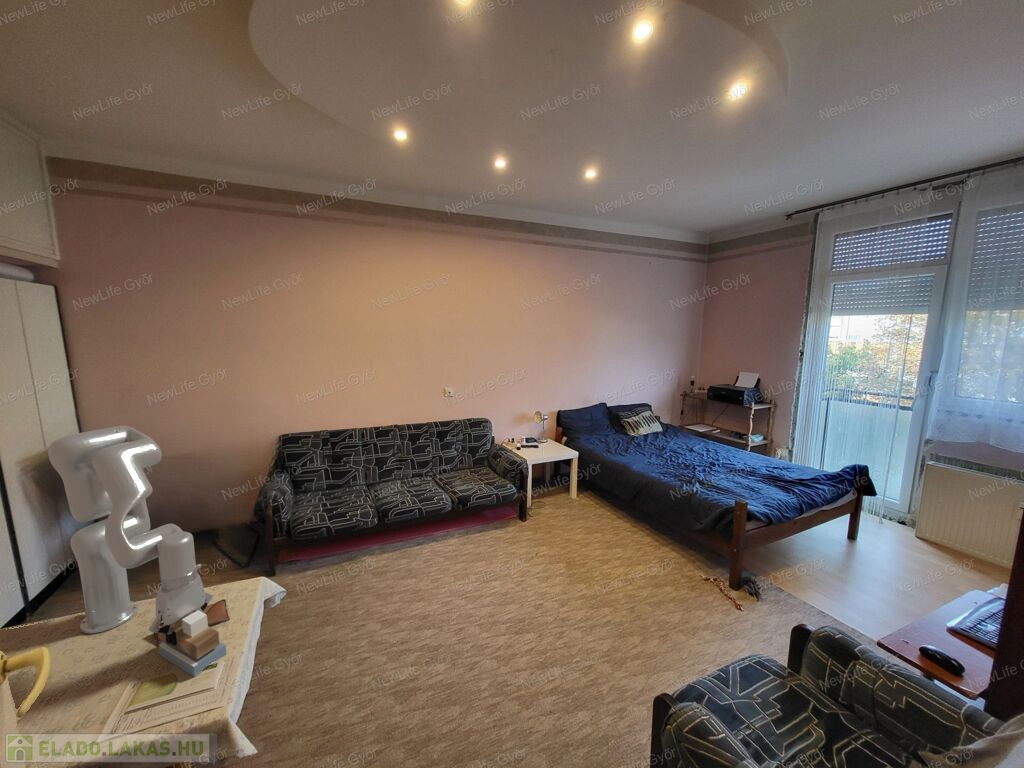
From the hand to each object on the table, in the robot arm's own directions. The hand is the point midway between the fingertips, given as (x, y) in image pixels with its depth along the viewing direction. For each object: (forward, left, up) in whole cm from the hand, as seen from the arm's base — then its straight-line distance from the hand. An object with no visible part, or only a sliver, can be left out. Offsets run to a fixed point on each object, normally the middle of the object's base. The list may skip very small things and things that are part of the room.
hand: (184, 634), depth 112 cm
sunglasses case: (-8, +6, -6) cm, 12 cm away
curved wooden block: (+3, 0, -1) cm, 3 cm away
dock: (+3, 0, -5) cm, 6 cm away
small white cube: (+5, +1, +3) cm, 5 cm away
